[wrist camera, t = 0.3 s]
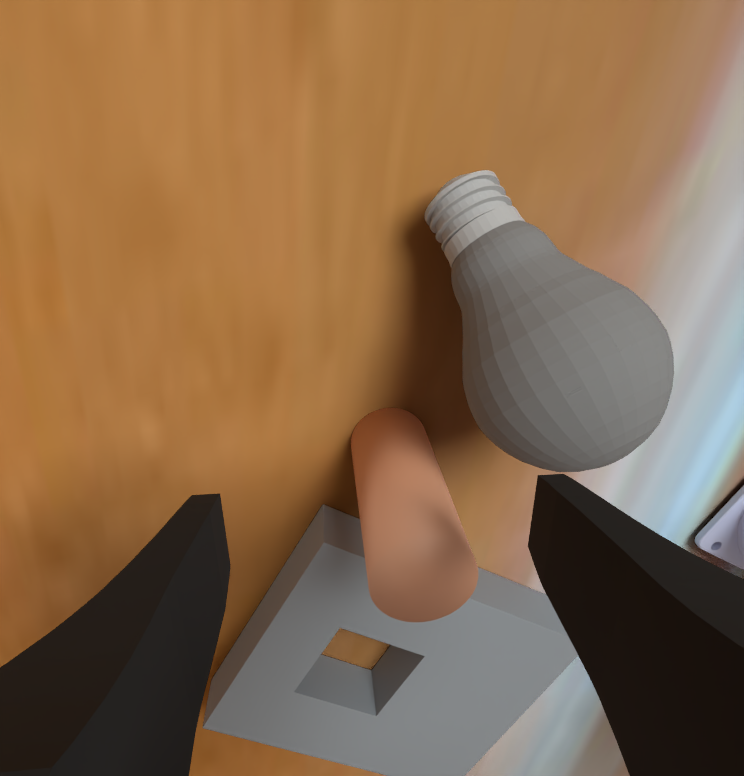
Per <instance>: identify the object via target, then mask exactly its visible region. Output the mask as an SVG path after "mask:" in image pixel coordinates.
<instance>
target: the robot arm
mask: <svg viewBox="0 0 744 776" xmlns="http://www.w3.org/2000/svg"><path fill="white" fill-rule="evenodd" d="M695 543H696V544H697V546H698V547H699V548H701V549H702V550H704V551H706V552H708V553H710V554H712V555H714V556H716V557H718V558H720V559H722V560H724V561H726V562H728V563H730V564H733V565H735V566H737V567H739V568H741V569H743V570H744V485H743V487H742V488H741V489H740V490H739V491H738V492H737V493H736V494H735V495H734V496H733V497H732V498H731V499H730V500H729V501H728V502H727V503H726V504H725V506H724V507H723V508H722V509H721V510H720V511H719V512H718V513H717V514H716V515H715V516H714V517H713V518H712V519H711V520H710V521H709V522H708V523H707V525H706V526H705V527H704V528H703V529H702V530H701V531H700V532H699V533H698V534H697V536H696V537H695ZM528 548H529V551H530V553H531V556H532V559H533V562H534V565H535V568H536V571H537V573H538V576H539V578H540V581H541V584H542V586H543V588H544V590H545V592H546V594H547V596H548V598H549V600H550V602H551V604H552V606H553V608H554V610H555V612H556V614H557V616H558V618H559V620H560V621H561V623H562V625H563V627H564V629H565V631H566V633H567V635H568V637H569V639H570V640H571V642H572V644H573V646H574V648H575V650H576V652H577V654H578V656H579V658H580V659H581V661H582V663H583V665H584V667H585V669H586V671H587V673H588V675H589V677H590V679H591V681H592V683H593V685H594V687H595V690H596V692H597V694H598V696H599V698H600V701H601V703H602V706H603V708H604V711H605V713H606V716H607V718H608V721H609V723H610V725H611V728H612V730H613V733H614V735H615V738H616V740H617V743H618V745H619V748H620V751H621V753H622V756H623V759H624V761H625V764H626V767H627V769H628V772H629V774H630V776H744V579H742V578H739V577H737V576H735V575H733V574H731V573H729V572H727V571H725V570H723V569H721V568H719V567H717V566H715V565H713V564H711V563H709V562H707V561H705V560H703V559H701V558H699V557H697V556H696V555H694V554H692V553H690V552H688V551H686V550H685V549H683V548H681V547H679V546H678V545H676V544H674V543H672V542H671V541H669V540H667V539H666V538H664V537H662V536H660V535H659V534H657V533H655V532H654V531H652V530H651V529H649V528H647V527H646V526H644V525H642V524H641V523H639V522H638V521H636V520H634V519H633V518H631V517H630V516H628V515H627V514H625V513H624V512H622V511H621V510H619V509H618V508H616V507H614V506H613V505H611V504H610V503H608V502H607V501H605V500H604V499H602V498H601V497H599V496H598V495H596V494H595V493H593V492H592V491H590V490H589V489H587V488H586V487H584V486H583V485H581V484H580V483H578V482H576V481H575V480H573V479H572V478H570V477H568V476H566V475H565V474H554V475H538V478H537V485H536V492H535V500H534V507H533V514H532V521H531V528H530V535H529V542H528ZM229 575H230V560H229V553H228V546H227V539H226V532H225V525H224V518H223V511H222V505H221V498H220V494H206V495H192V496H191V497H190V498H189V499H188V500H187V501H186V502H185V503H184V504H183V505H182V506H181V507H180V509H179V510H178V511H177V512H176V513H175V514H174V515H173V516H172V518H171V519H170V520H169V521H168V522H167V523H166V524H165V526H164V527H163V528H162V529H161V530H160V531H159V532H158V533H157V534H156V536H155V537H154V538H153V539H152V540H151V541H150V542H149V543H148V544H147V545H146V546H145V547H144V548H143V549H142V550H141V552H140V553H139V554H138V555H137V556H136V557H135V558H134V559H133V560H132V561H131V562H130V563H129V564H128V565H127V566H126V567H125V568H124V569H123V570H122V571H121V572H120V573H119V574H118V575H117V576H116V577H115V578H114V579H113V580H111V581H110V582H109V583H108V584H107V585H106V586H105V587H104V588H103V589H102V590H101V591H100V592H99V593H98V594H97V595H95V596H94V597H93V598H92V599H91V600H90V601H88V602H87V603H86V604H85V605H84V606H83V607H81V608H80V609H79V610H78V611H76V612H75V613H74V614H73V615H72V616H70V617H69V618H68V619H67V620H65V621H64V622H63V623H62V624H60V625H59V626H58V627H56V628H55V629H54V630H53V631H51V632H50V633H48V634H47V635H46V636H44V637H43V638H41V639H40V640H39V641H37V642H36V643H34V644H33V645H32V646H30V647H29V648H27V649H26V650H25V651H23V652H22V653H21V654H19V655H18V656H16V657H15V658H14V659H12V660H11V661H9V662H8V663H6V664H5V665H3V666H2V667H0V776H189V770H190V764H191V757H192V751H193V744H194V738H195V732H196V727H197V722H198V717H199V712H200V708H201V704H202V700H203V696H204V692H205V688H206V684H207V680H208V676H209V672H210V668H211V664H212V660H213V656H214V653H215V649H216V645H217V641H218V637H219V633H220V628H221V624H222V620H223V616H224V612H225V607H226V599H227V592H228V583H229Z"/></svg>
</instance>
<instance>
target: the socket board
mask: <svg viewBox="0 0 744 776" xmlns="http://www.w3.org/2000/svg"><path fill="white" fill-rule="evenodd" d="M339 628H342V629H345V630H348V631H351V632H354V633H357V634H360V635H363V636H366V637H369V638H372V639H375V640H378V641H381V642H384V643H387V644H390V645H391V646H390V647H389V648H388V649H387V651H386V652H385V653H384V655H383V656H382V657H381V659H380V660H379V661H378V662H377V664H376V665H375V666H374V668H373V669H372V670H369V669H365V668H362V667H359V666H356V665H353V664H350V663H347V662H343V661H340V660H337V659H334V658H331V657H328V656H325V655H321V653H322V652H323V651H324V649H325V648H326V646H327V645H328V644H329V642H330V641H331V639H332V638H333V637H334V635H335V634H336V632H337V631H338V630H339ZM577 656H578V654H577V652H576V650H575V648H574V646H573V644H572V642H571V640H570V639H569V637H568V635H567V633H566V631H565V629H564V627H563V625H562V623H561V621H560V620H559V618H558V616H557V614H556V612H555V610H554V608H553V606H552V604H551V602H550V600H549V598H548V596H547V595H545V594H543V593H540V592H538V591H535V590H533V589H530V588H528V587H526V586H523V585H521V584H518V583H516V582H513V581H511V580H508V579H506V578H503V577H501V576H498V575H496V574H494V573H491V572H489V571H486V570H484V569H481V568H479V567H478V581H477V585H476V588H475V590H474V592H473V594H472V595H471V597H470V598H469V599H468V600H467V601H466V603H465V604H463V605H462V606H461V607H460V608H459V609H457V610H456V611H454V612H453V613H451V614H449V615H447V616H445V617H442V618H439V619H436V620H432V621H427V622H405V621H400V620H397V619H394V618H392V617H389V616H388V615H386V614H384V613H383V612H382V611H380V610H379V609H378V608H377V607H376V605H375V604H374V602H373V601H372V599H371V596H370V593H369V587H368V579H367V571H366V563H365V555H364V547H363V539H362V531H361V523H360V519H358V518H356V517H353V516H351V515H348V514H346V513H343V512H341V511H338V510H336V509H333V508H331V507H329V506H326V505H324V504H323V505H322V506H321V508H320V510H319V511H318V513H317V514H316V516H315V517H314V519H313V521H312V522H311V524H310V525H309V527H308V528H307V530H306V532H305V533H304V535H303V536H302V538H301V539H300V541H299V543H298V544H297V546H296V547H295V549H294V551H293V552H292V554H291V555H290V557H289V558H288V560H287V562H286V563H285V565H284V566H283V568H282V569H281V571H280V573H279V574H278V576H277V577H276V579H275V580H274V582H273V584H272V585H271V587H270V588H269V590H268V592H267V593H266V595H265V596H264V598H263V599H262V601H261V603H260V604H259V606H258V607H257V609H256V610H255V612H254V614H253V615H252V617H251V618H250V620H249V621H248V623H247V625H246V626H245V628H244V629H243V631H242V632H241V634H240V636H239V637H238V639H237V640H236V642H235V644H234V645H233V647H232V648H231V650H230V651H229V653H228V655H227V656H226V658H225V659H224V661H223V662H222V664H221V666H220V667H219V669H218V670H217V672H216V673H215V675H214V677H213V678H212V680H211V685H210V690H209V695H208V701H207V706H206V712H205V717H204V722H203V728H204V729H208V730H212V731H216V732H220V733H224V734H228V735H231V736H235V737H239V738H243V739H247V740H251V741H255V742H259V743H263V744H266V745H270V746H274V747H278V748H282V749H286V750H290V751H294V752H298V753H302V754H305V755H309V756H313V757H317V758H321V759H325V760H329V761H333V762H337V763H340V764H344V765H348V766H352V767H356V768H360V769H364V770H368V771H372V772H375V773H379V774H383V775H387V776H465V775H466V774H467V773H468V772H469V771H470V769H471V768H472V767H473V766H474V765H475V764H476V763H477V762H478V761H479V760H480V759H481V758H482V757H483V756H484V755H485V754H486V752H487V751H488V750H489V749H490V748H491V747H492V746H493V745H494V744H495V743H496V742H497V741H498V740H499V739H500V738H501V737H502V735H503V734H504V733H505V732H506V731H507V730H508V729H509V728H510V727H511V726H512V725H513V724H514V723H515V722H516V721H517V720H518V719H519V717H520V716H521V715H522V714H523V713H524V712H525V711H526V710H527V709H528V708H529V707H530V706H531V705H532V704H533V703H534V702H535V700H536V699H537V698H538V697H539V696H540V695H541V694H542V693H543V692H544V691H545V690H546V689H547V688H548V687H549V686H550V685H551V684H552V682H553V681H554V680H555V679H556V678H557V677H558V676H559V675H560V674H561V673H562V672H563V671H564V670H565V669H566V668H567V667H568V665H569V664H570V663H571V662H572V661H573V660H574V659H575V658H576V657H577Z"/></svg>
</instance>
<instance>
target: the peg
mask: <svg viewBox="0 0 744 776" xmlns="http://www.w3.org/2000/svg"><path fill="white" fill-rule="evenodd" d="M351 451H352V459H353V467H354V475H355V483H356V491H357V499H358V507H359V515H360V523H361V531H362V539H363V547H364V555H365V563H366V571H367V579H368V587H369V593H370V596H371V599H372V601H373V602H374V604H375V605H376V607H377V608H378V609H379V610H380V611H382V612H383V613H384V614H386V615H388V616H389V617H392V618H394V619H397V620H400V621H405V622H427V621H432V620H436V619H439V618H442V617H445V616H447V615H449V614H451V613H453V612H454V611H456V610H457V609H459V608H460V607H461V606H462V605H463V604H465V603H466V601H467V600H468V599H469V598H470V597H471V595H472V594H473V592H474V590H475V588H476V585H477V581H478V566H477V563H476V561H475V558H474V555H473V553H472V550H471V548H470V545H469V542H468V540H467V537H466V535H465V532H464V529H463V527H462V524H461V522H460V519H459V516H458V514H457V511H456V509H455V506H454V504H453V501H452V498H451V496H450V493H449V491H448V488H447V485H446V483H445V480H444V478H443V475H442V472H441V470H440V467H439V465H438V462H437V459H436V457H435V454H434V452H433V449H432V447H431V444H430V441H429V439H428V436H427V434H426V431H425V428H424V426H423V424H422V423H421V421H420V420H419V419H418V418H417V417H416V416H415V415H413V414H412V413H410V412H408V411H406V410H403V409H399V408H383V409H379V410H376V411H374V412H371V413H370V414H368V415H366V416H365V417H364V418H363V419H361V421H360V422H359V423H358V424H357V425H356V427H355V429H354V431H353V433H352V437H351Z"/></svg>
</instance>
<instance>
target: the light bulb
mask: <svg viewBox="0 0 744 776" xmlns="http://www.w3.org/2000/svg"><path fill="white" fill-rule="evenodd" d="M424 217H425V221H426V222H427V224H428V225H429V226H430V229H431V231H432V232H433V233H436V240H437V241H438V242H439V243H442V246H441V248H442V250H443V252H444V254H445V256H446V258H447V259H448V261H449V263H450V266H451V268H452V273H451V281H452V287H453V291H454V294H455V297H456V299H457V301H458V304H459V306H460V309H461V312H462V328H463V349H462V361H463V386H464V391H465V395H466V399H467V402H468V405H469V408H470V410H471V413H472V415H473V417H474V419H475V421H476V423H477V425H478V426H479V428H480V429H481V431H482V432H483V433H484V434H485V435H486V436H487V437H488V438H489V439H490V440H491V441H492V442H493V443H494V444H495V445H496V446H498V447H499V448H500V449H502V450H503V451H505V452H506V453H508V454H509V455H511V456H513V457H515V458H516V459H518V460H520V461H522V462H525V463H528V464H530V465H533V466H536V467H539V468H542V469H547V470H551V471H556V472H580V471H585V470H590V469H595V468H600V467H603V466H606V465H609V464H612V463H614V462H616V461H618V460H620V459H622V458H623V457H625V456H627V455H628V454H629V453H631V452H632V451H633V450H634V449H636V448H637V447H638V446H639V445H641V444H642V443H643V442H644V441H645V440H646V439H647V438H648V437H649V436H650V435H651V433H652V432H653V431H654V430H655V429H656V427H657V426H658V425H659V423H660V421H661V419H662V417H663V415H664V412H665V410H666V408H667V405H668V401H669V398H670V394H671V390H672V386H673V375H674V363H673V352H672V347H671V342H670V339H669V336H668V333H667V330H666V329H665V327H664V326H663V324H662V323H661V321H660V319H659V318H658V316H657V315H656V314H655V313H654V312H653V311H652V309H651V308H650V307H649V306H648V305H647V304H646V303H645V302H644V301H643V300H642V299H641V298H640V297H638V296H637V295H636V294H635V293H634V292H633V291H631V290H630V289H629V288H627V287H625V286H623V285H621V284H619V283H617V282H615V281H613V280H612V279H610V278H608V277H606V276H604V275H603V274H601V273H599V272H596V271H594V270H591V269H589V268H587V267H585V266H584V265H582V264H580V263H578V262H577V261H575V260H573V259H571V258H569V257H568V256H566V255H564V254H562V253H561V252H560V251H559V250H558V249H557V248H556V247H555V245H554V244H553V243H552V241H551V240H550V239H549V238H548V237H547V235H546V234H545V233H544V232H542V231H541V230H540V229H538V228H537V227H536V226H534V225H531V224H529V223H527V222H525V220H524V219H523V218H522V217H521V216H520V214H519V213H518V211H517V209H516V208H515V207H514V206H512V202H511V199H510V198H509V197H508V196H506V192H505V190H504V188H503V187H502V186H500V182H499V180H498V178H497V176H496V175H495V173H493V172H492V171H488V170H483V171H477V172H473V173H468V174H464V175H460V176H458V177H456V178H453V179H452V180H450V181H449V182H447V183H446V184H445V185H444V186H443V187H442V188H441V189H440V190H439V192H438V194H437V195H436V196H435V198H434V199H433V200H432V201H431V203H430V204H429V206H428V207H427V209H426V211H425V216H424Z"/></svg>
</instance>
